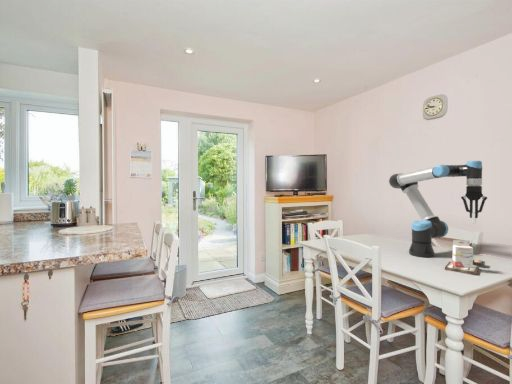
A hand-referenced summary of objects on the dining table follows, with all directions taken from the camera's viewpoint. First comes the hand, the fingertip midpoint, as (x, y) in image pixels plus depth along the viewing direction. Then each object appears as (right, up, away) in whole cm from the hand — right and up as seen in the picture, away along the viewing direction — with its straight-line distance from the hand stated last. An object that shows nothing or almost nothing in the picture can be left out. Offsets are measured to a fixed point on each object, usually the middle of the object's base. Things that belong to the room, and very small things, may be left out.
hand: (473, 223), depth 167 cm
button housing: (-3, -25, -7) cm, 26 cm away
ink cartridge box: (-17, -24, -13) cm, 32 cm away
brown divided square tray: (-17, -25, -13) cm, 33 cm away
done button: (-3, -24, -7) cm, 25 cm away
